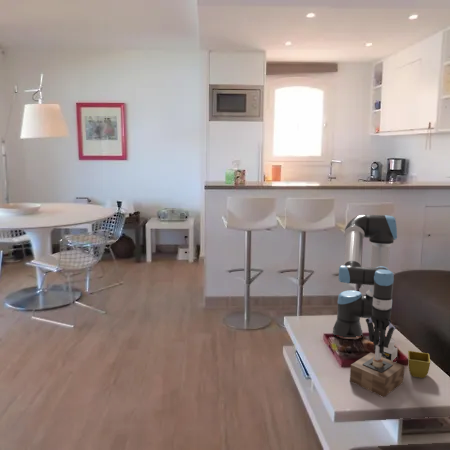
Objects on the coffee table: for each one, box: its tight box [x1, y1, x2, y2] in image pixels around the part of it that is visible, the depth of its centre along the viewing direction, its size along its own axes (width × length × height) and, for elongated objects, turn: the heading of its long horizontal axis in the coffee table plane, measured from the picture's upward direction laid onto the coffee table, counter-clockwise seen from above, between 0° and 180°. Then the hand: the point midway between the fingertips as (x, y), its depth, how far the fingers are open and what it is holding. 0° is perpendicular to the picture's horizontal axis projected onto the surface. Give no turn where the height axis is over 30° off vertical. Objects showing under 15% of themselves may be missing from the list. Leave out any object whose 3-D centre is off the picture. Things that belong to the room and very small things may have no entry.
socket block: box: [349, 352, 405, 398], centre depth 196 cm, size 16×16×8 cm
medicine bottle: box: [381, 336, 399, 361], centre depth 212 cm, size 7×7×12 cm
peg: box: [373, 357, 383, 369], centre depth 195 cm, size 4×4×8 cm
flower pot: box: [407, 350, 431, 379], centre depth 202 cm, size 9×9×9 cm
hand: (378, 358), depth 194 cm, fingers closed
